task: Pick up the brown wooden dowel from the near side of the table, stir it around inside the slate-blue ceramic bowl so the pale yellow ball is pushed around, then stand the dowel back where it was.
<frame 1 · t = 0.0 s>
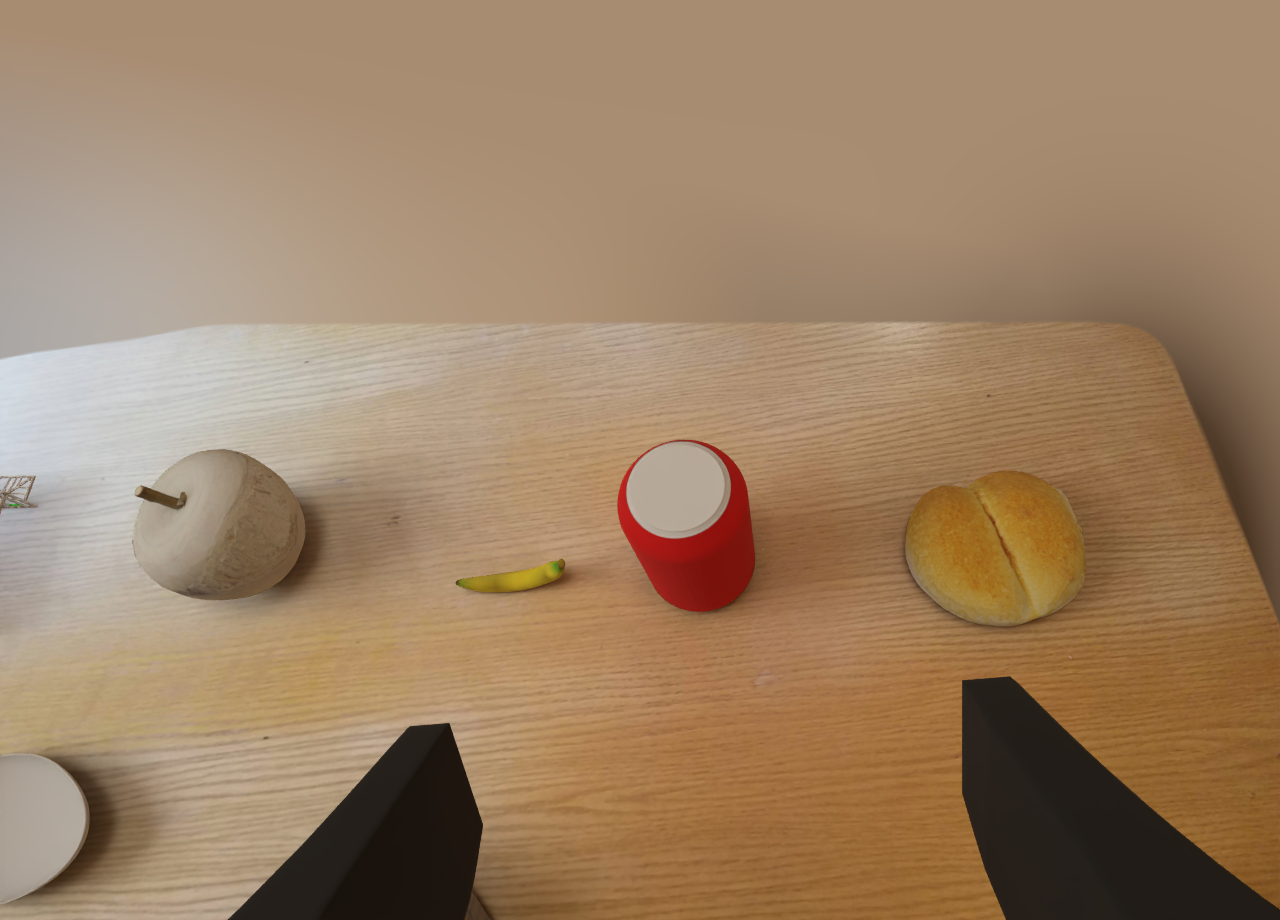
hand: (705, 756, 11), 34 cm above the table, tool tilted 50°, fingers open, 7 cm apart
decorative object: (268, 551, 53), on the table
fruit: (521, 584, 49), on the table
bread roll: (989, 553, 45), on the table
beverage can: (702, 565, 48), on the table
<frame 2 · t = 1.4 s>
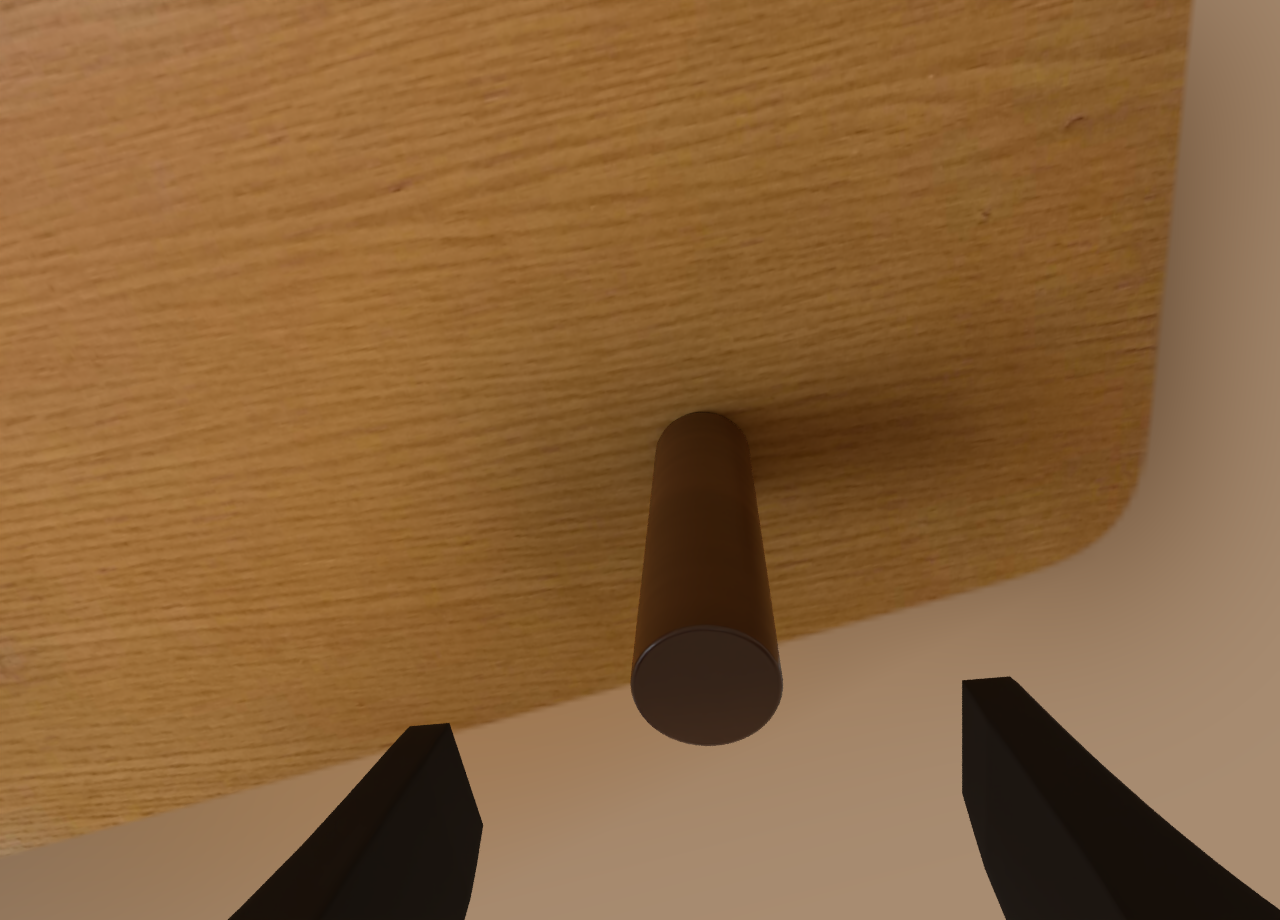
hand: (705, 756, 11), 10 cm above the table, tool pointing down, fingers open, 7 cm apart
brown wooden dowel: (702, 454, 21), on the table
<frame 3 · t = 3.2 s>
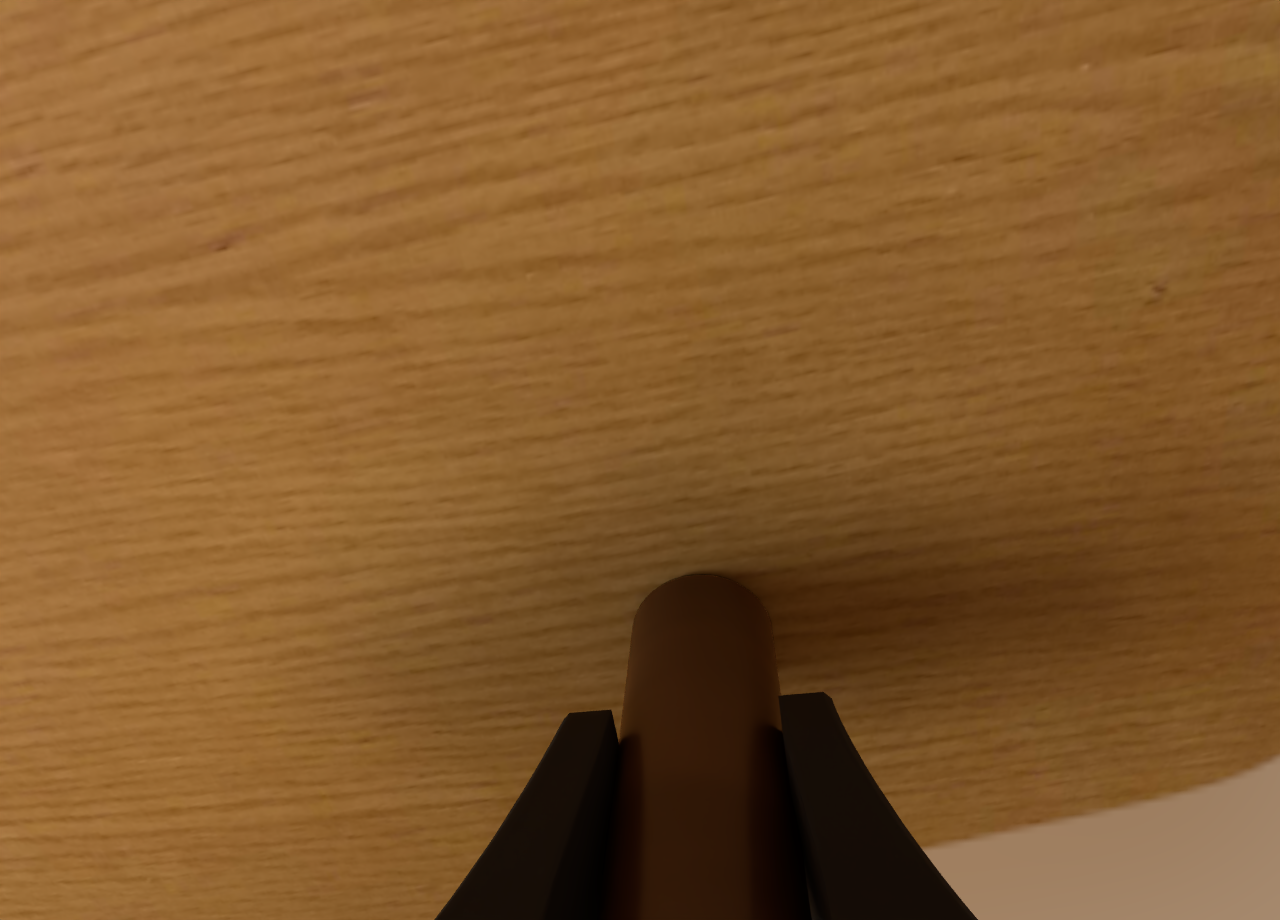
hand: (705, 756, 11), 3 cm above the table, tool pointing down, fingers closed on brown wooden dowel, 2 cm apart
brown wooden dowel: (701, 631, 14), on the table, touching gripper
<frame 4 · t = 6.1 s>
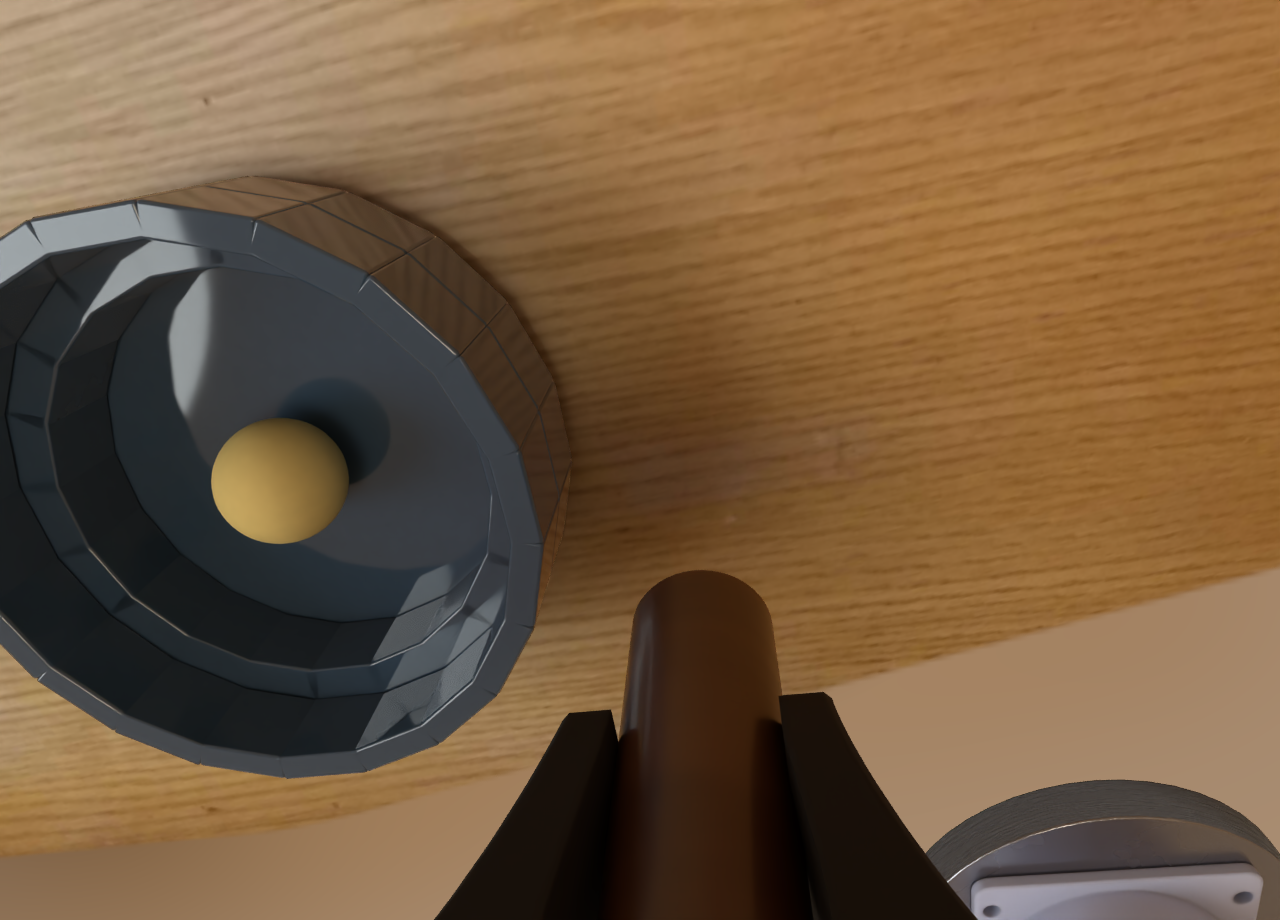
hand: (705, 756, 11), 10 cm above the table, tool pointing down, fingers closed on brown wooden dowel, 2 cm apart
bowl: (322, 442, 21), on the table
brown wooden dowel: (702, 627, 14), point 8 cm above the table, touching gripper
ball: (282, 480, 19), point 2 cm above the table, touching bowl
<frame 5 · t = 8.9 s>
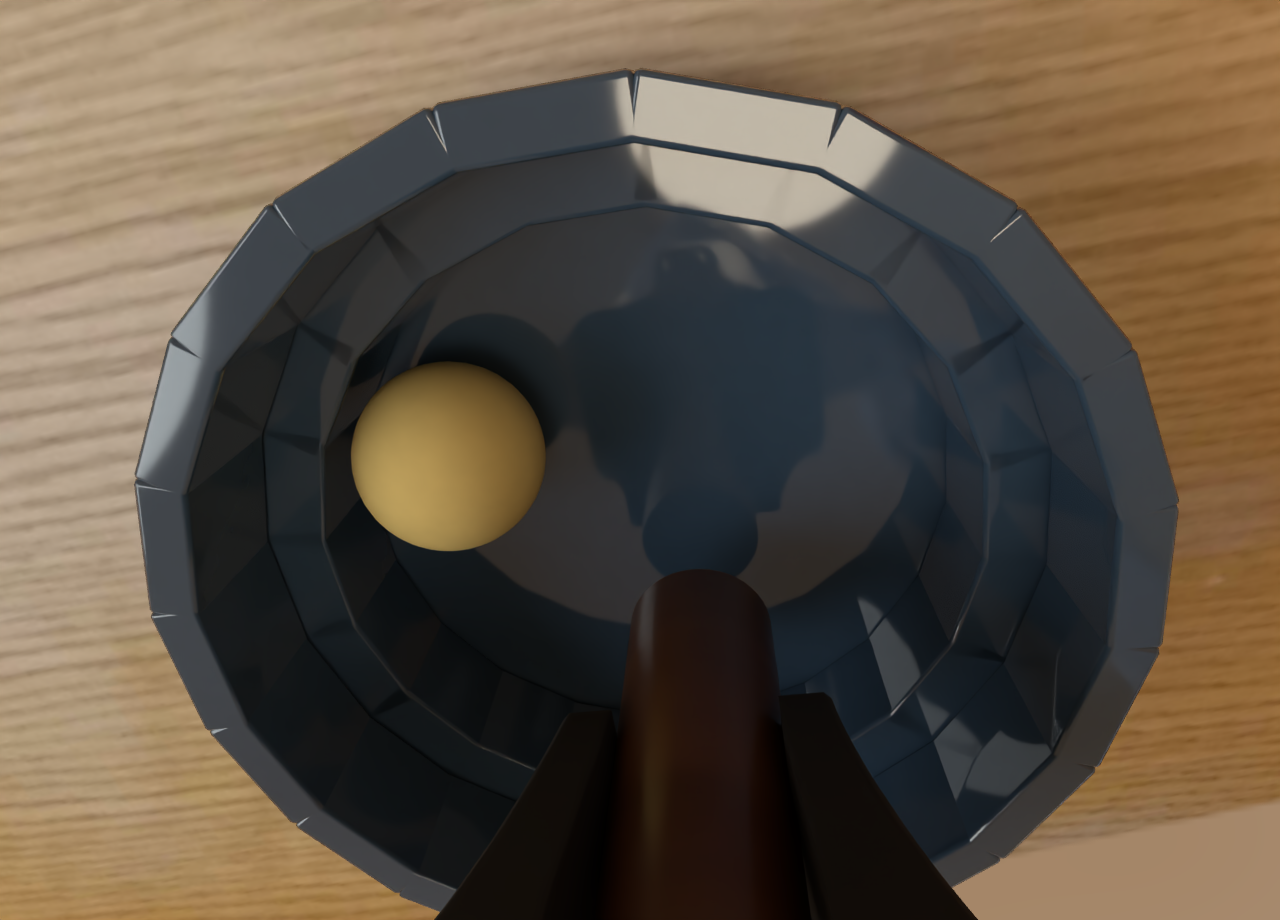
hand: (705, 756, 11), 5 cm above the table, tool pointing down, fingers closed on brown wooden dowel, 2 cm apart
bowl: (654, 470, 15), on the table
brown wooden dowel: (700, 626, 14), point 2 cm above the table, touching gripper
ball: (450, 456, 13), point 2 cm above the table, tilted 129°, touching bowl
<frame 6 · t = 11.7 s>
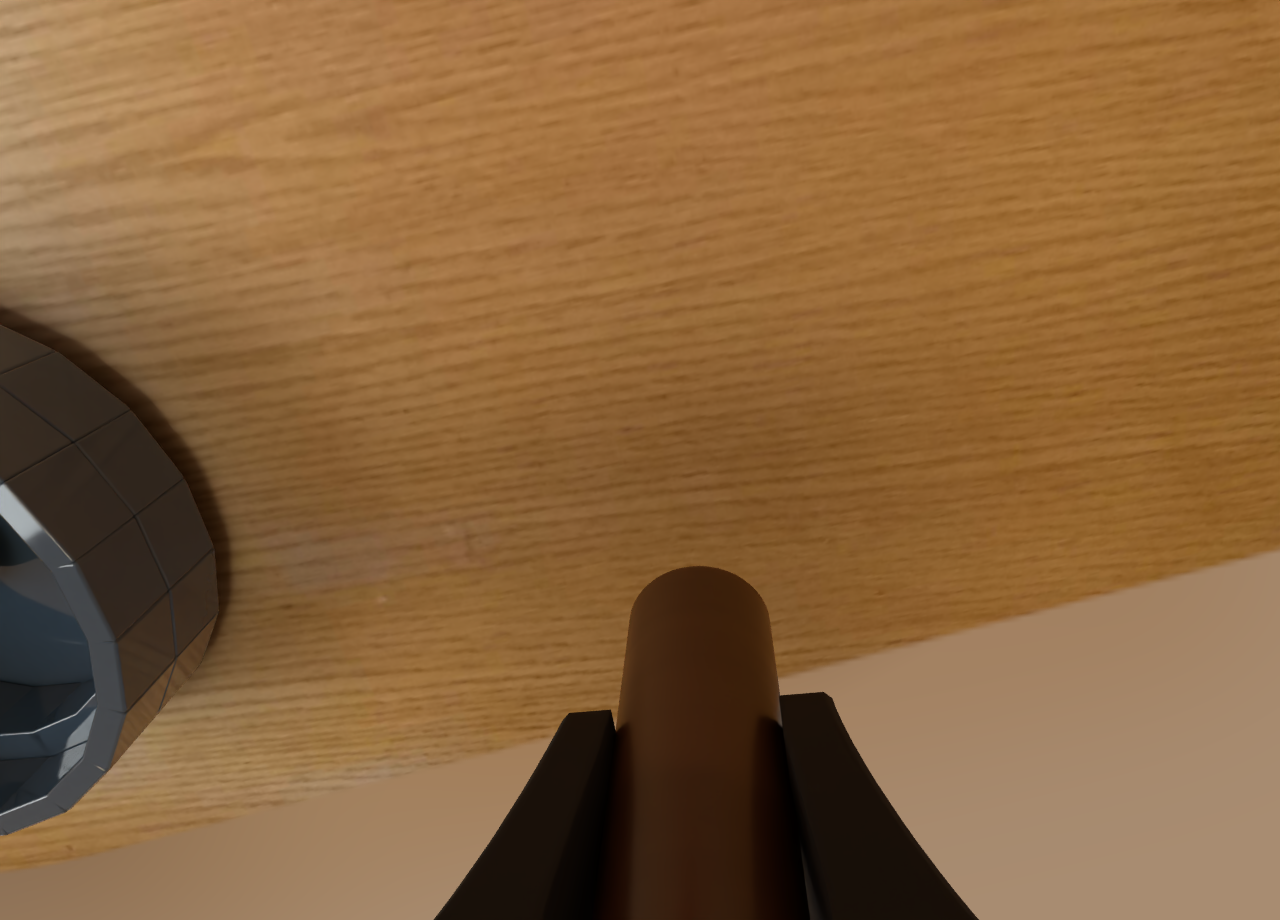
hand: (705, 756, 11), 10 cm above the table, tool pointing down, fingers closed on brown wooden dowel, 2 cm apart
bowl: (0, 523, 23), on the table
brown wooden dowel: (699, 623, 14), point 8 cm above the table, touching gripper
when the fingers open (3 cm above the table, at t = 14.9 s): brown wooden dowel stays where it is, on the table.
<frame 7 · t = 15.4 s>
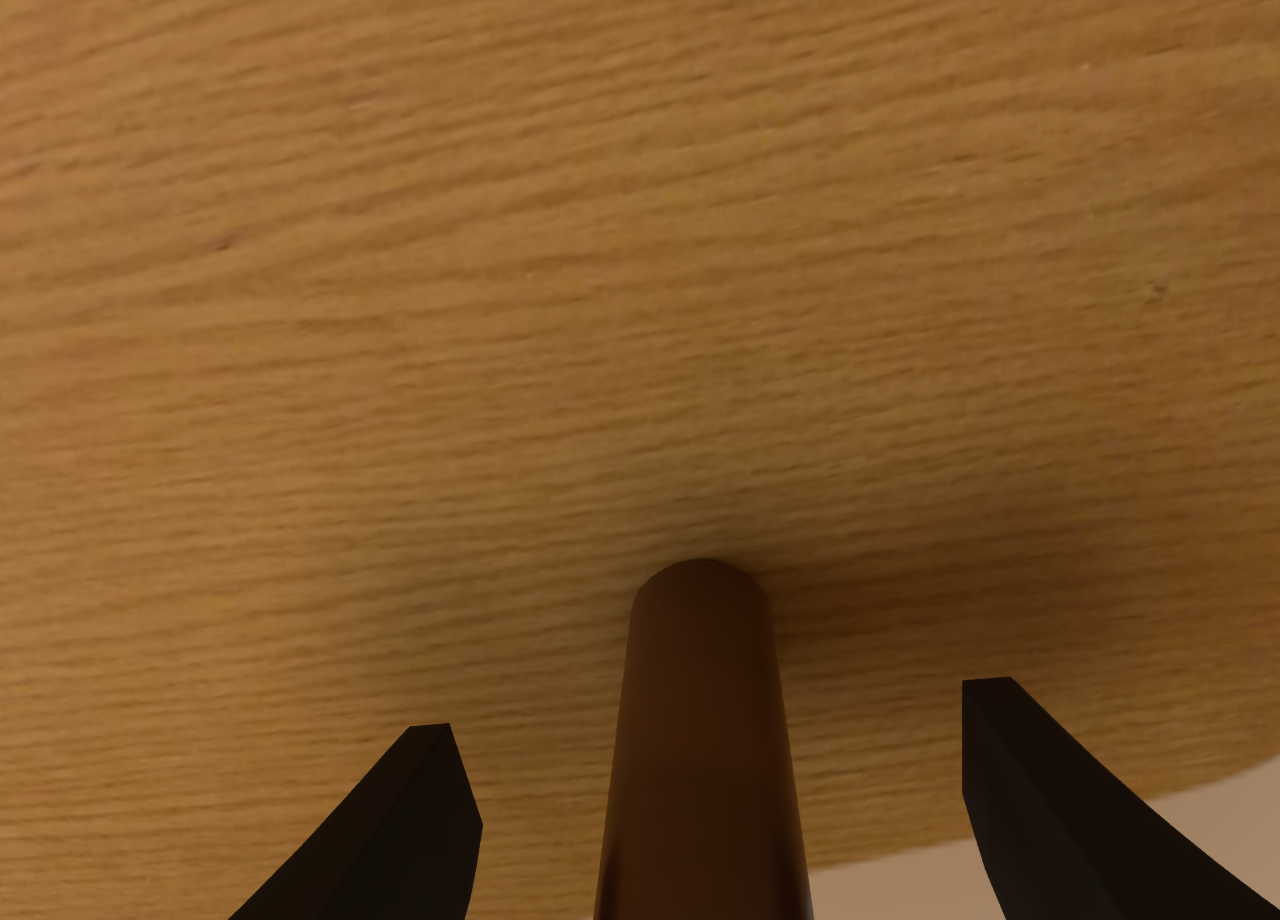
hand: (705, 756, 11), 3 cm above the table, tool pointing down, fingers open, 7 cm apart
brown wooden dowel: (700, 618, 14), on the table
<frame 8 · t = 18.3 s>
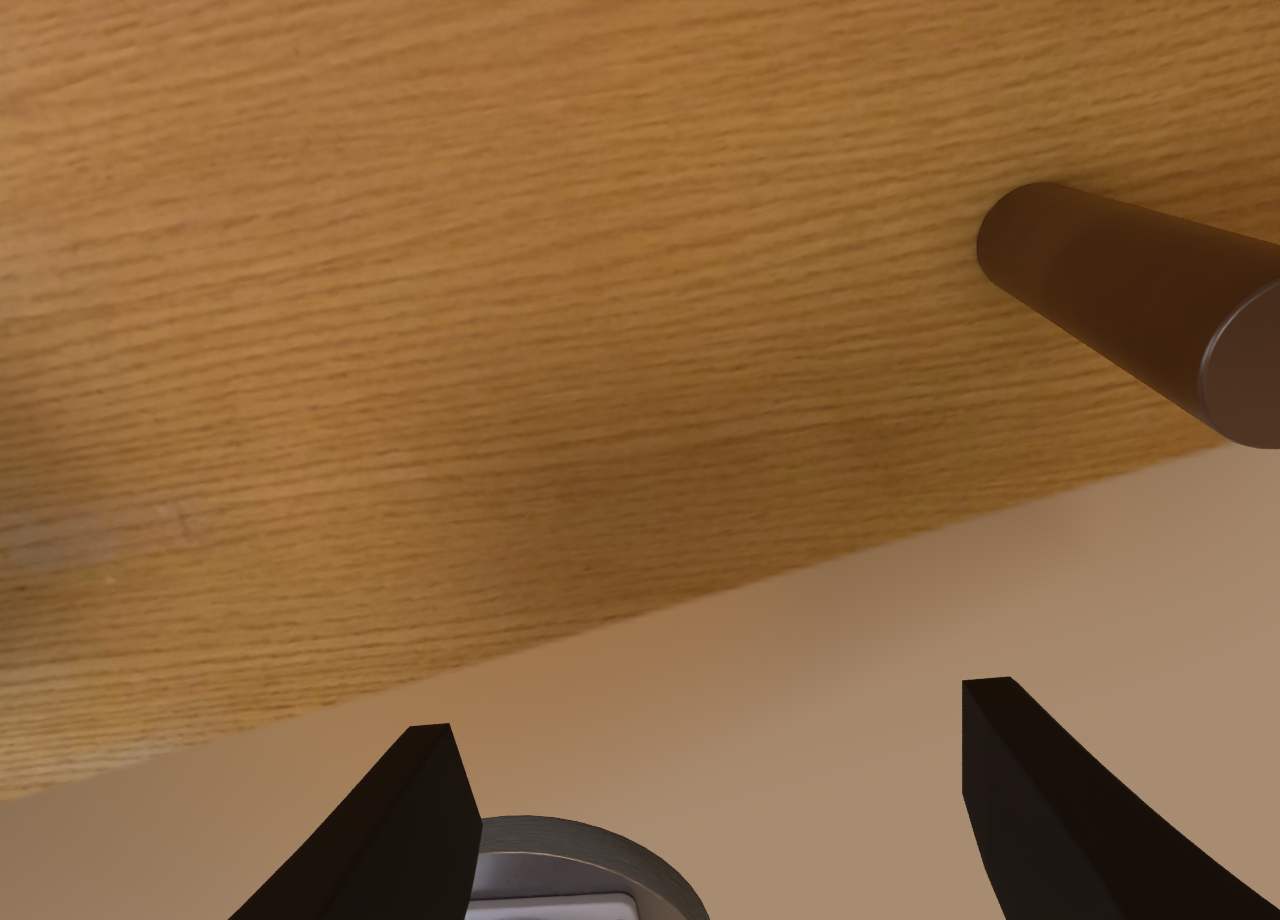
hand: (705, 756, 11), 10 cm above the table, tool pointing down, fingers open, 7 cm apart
brown wooden dowel: (1031, 238, 18), on the table
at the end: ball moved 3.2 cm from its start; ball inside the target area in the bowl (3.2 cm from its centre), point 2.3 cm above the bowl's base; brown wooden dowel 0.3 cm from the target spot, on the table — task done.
